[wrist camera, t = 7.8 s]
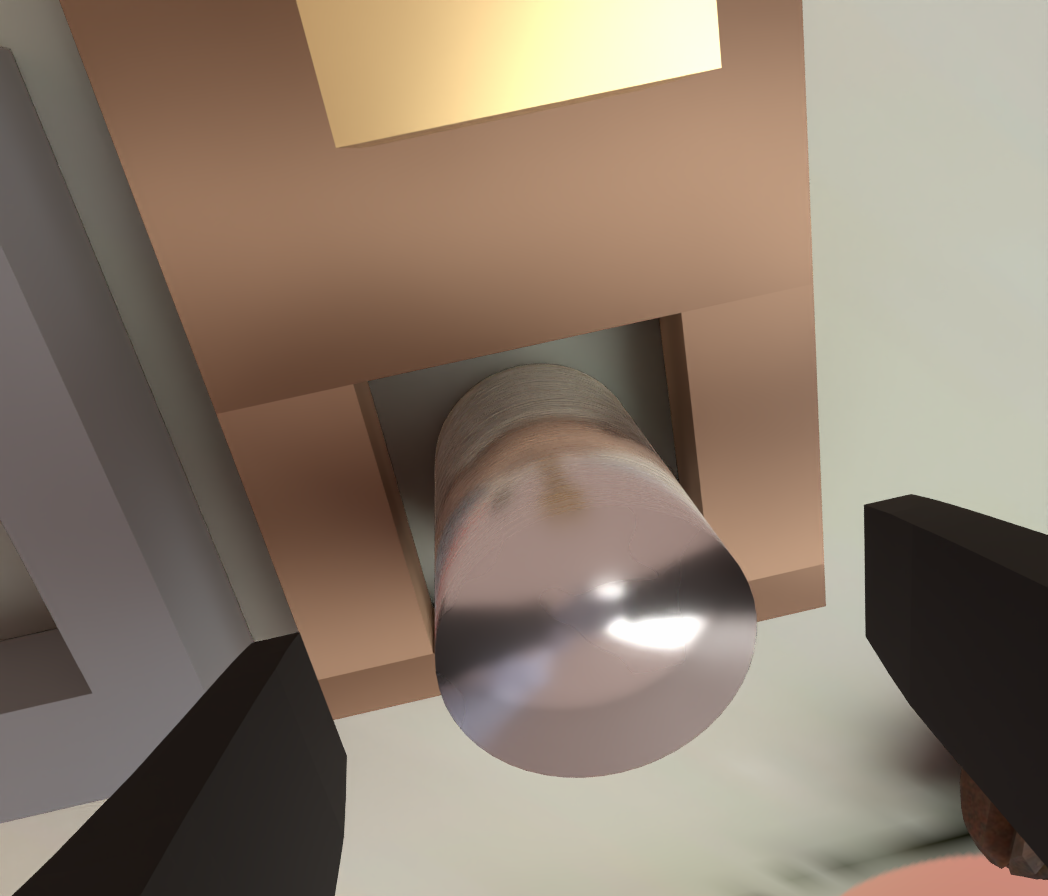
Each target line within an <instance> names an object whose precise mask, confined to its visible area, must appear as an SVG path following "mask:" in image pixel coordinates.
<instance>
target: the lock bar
mask: <svg viewBox="0 0 1048 896" xmlns="http://www.w3.org/2000/svg"><path fill="white" fill-rule="evenodd" d="M296 2H297V6H298V9H299V13H300V17H301V20H302V24H303V28H304V32H305V35H306V39H307V43H308V46H309V50H310V54H311V57H312V61H313V65H314V68H315V72H316V76H317V80H318V83H319V87H320V91H321V94H322V98H323V102H324V105H325V109H326V113H327V116H328V120H329V124H330V128H331V131H332V135H333V139H334V142H335V146H336V148H367V147H372V146H376V145H381V144H386V143H391V142H396V141H400V140H405V139H410V138H415V137H420V136H424V135H429V134H434V133H439V132H443V131H448V130H453V129H458V128H463V127H467V126H472V125H477V124H482V123H487V122H491V121H496V120H501V119H506V118H511V117H515V116H520V115H525V114H530V113H534V112H539V111H544V110H549V109H554V108H558V107H563V106H568V105H573V104H578V103H582V102H587V101H592V100H597V99H602V98H606V97H611V96H616V95H621V94H625V93H630V92H635V91H640V90H643V89H647V88H650V87H654V86H658V85H661V84H665V83H668V82H672V81H676V80H679V79H683V78H686V77H690V76H694V75H697V74H701V73H704V72H708V71H712V70H715V69H719V68H722V67H721V55H720V42H719V29H718V16H717V3H716V0H296Z"/></svg>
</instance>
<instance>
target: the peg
mask: <svg viewBox="0 0 1048 896" xmlns="http://www.w3.org/2000/svg"><path fill="white" fill-rule="evenodd" d="M756 636H757V615H756V609H755V603H754V598H753V595H752V592H751V589H750V586H749V583H748V581H747V579H746V577H745V575H744V573H743V572H742V570H741V568H740V566H739V565H738V563H737V562H736V561H735V559H734V558H733V557H732V555H731V554H730V552H729V551H728V550H727V548H726V547H725V546H724V544H723V543H722V541H721V540H720V539H719V537H718V536H717V535H716V533H715V532H714V530H713V529H712V528H711V526H710V525H709V524H708V522H707V521H706V519H705V518H704V517H703V515H702V514H701V513H700V511H699V510H698V508H697V507H696V506H695V504H694V503H693V502H692V500H691V499H690V498H689V496H688V495H687V493H686V492H685V491H684V489H683V488H682V487H681V485H680V484H679V482H678V481H677V480H676V478H675V477H674V476H673V474H672V473H671V471H670V470H669V469H668V467H667V466H666V465H665V463H664V462H663V460H662V459H661V458H660V456H659V455H658V454H657V452H656V451H655V449H654V448H653V447H652V445H651V444H650V443H649V441H648V440H647V438H646V437H645V436H644V434H643V433H642V432H641V430H640V429H639V427H638V426H637V425H636V423H635V422H634V421H633V419H632V418H631V416H630V415H629V414H628V412H627V411H626V410H625V408H624V407H623V405H622V404H621V403H620V401H619V400H618V399H617V398H616V396H615V395H614V394H613V393H612V392H611V391H610V390H609V389H608V388H607V387H606V386H604V385H603V384H602V383H600V382H599V381H598V380H596V379H595V378H593V377H591V376H589V375H587V374H585V373H583V372H581V371H578V370H575V369H573V368H569V367H565V366H561V365H554V364H528V365H521V366H516V367H513V368H509V369H506V370H503V371H500V372H498V373H496V374H493V375H491V376H489V377H488V378H486V379H484V380H483V381H481V382H479V383H478V384H477V385H475V386H474V387H473V388H471V389H470V390H469V391H468V392H467V393H466V394H465V395H464V396H463V397H462V398H461V399H460V400H459V401H458V402H457V403H456V405H455V406H454V407H453V409H452V410H451V411H450V413H449V415H448V416H447V418H446V420H445V422H444V424H443V426H442V429H441V431H440V434H439V437H438V441H437V445H436V452H435V668H436V676H437V681H438V686H439V690H440V693H441V695H442V698H443V700H444V703H445V705H446V707H447V709H448V711H449V712H450V714H451V716H452V718H453V719H454V721H455V722H456V723H457V725H458V726H459V727H460V728H461V729H462V731H463V732H464V733H465V734H466V735H467V736H468V737H469V738H470V739H471V740H472V741H473V742H474V743H476V744H477V745H478V746H479V747H480V748H482V749H483V750H485V751H486V752H488V753H489V754H491V755H492V756H494V757H496V758H498V759H500V760H502V761H504V762H506V763H507V764H510V765H512V766H515V767H518V768H521V769H523V770H526V771H530V772H534V773H538V774H543V775H549V776H557V777H575V778H585V777H596V776H605V775H610V774H616V773H621V772H625V771H628V770H632V769H635V768H639V767H642V766H644V765H647V764H649V763H652V762H654V761H657V760H659V759H661V758H663V757H665V756H667V755H669V754H671V753H673V752H675V751H676V750H678V749H680V748H681V747H683V746H684V745H686V744H687V743H689V742H690V741H692V740H693V739H694V738H696V737H697V736H698V735H699V734H701V733H702V732H703V731H704V730H706V729H707V728H708V727H709V726H710V725H711V724H712V723H713V722H714V721H715V720H716V719H717V718H718V717H719V716H720V715H721V714H722V712H723V711H724V710H725V709H726V707H727V706H728V705H729V703H730V702H731V701H732V700H733V698H734V696H735V695H736V693H737V691H738V690H739V688H740V687H741V685H742V683H743V681H744V678H745V676H746V674H747V672H748V670H749V667H750V664H751V660H752V657H753V654H754V649H755V643H756Z"/></svg>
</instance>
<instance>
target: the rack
mask: <svg viewBox="0 0 1048 896" xmlns="http://www.w3.org/2000/svg"><path fill="white" fill-rule="evenodd" d="M0 521H1V522H2V524H3V526H4V528H5V530H6V532H7V534H8V536H9V537H10V539H11V541H12V543H13V545H14V547H15V549H16V551H17V552H18V554H19V556H20V558H21V560H22V562H23V564H24V566H25V567H26V569H27V571H28V573H29V575H30V577H31V579H32V581H33V582H34V584H35V586H36V588H37V590H38V592H39V594H40V596H41V597H42V599H43V601H44V603H45V605H46V607H47V609H48V611H49V612H50V614H51V616H52V618H53V620H54V622H55V624H56V626H57V627H58V629H53V630H49V631H45V632H40V633H36V634H31V635H27V636H22V637H18V638H13V639H9V640H5V641H0V823H4V822H9V821H13V820H17V819H21V818H26V817H30V816H34V815H39V814H43V813H47V812H52V811H56V810H60V809H64V808H69V807H73V806H77V805H82V804H86V803H90V802H95V801H99V800H103V799H107V798H110V797H111V796H112V795H113V793H114V792H115V791H116V790H117V789H118V788H119V787H120V786H121V785H122V784H123V783H124V782H125V781H126V780H127V779H128V778H129V777H130V776H131V775H132V774H133V773H134V772H135V770H136V769H137V768H138V767H139V766H140V765H141V764H142V763H143V762H144V761H145V759H146V758H147V757H148V756H149V755H150V754H151V753H152V752H153V750H154V749H155V748H156V747H157V746H158V745H159V744H160V743H161V742H162V740H163V739H164V738H165V737H166V736H167V735H168V734H169V733H170V732H171V730H172V729H173V728H174V727H175V726H176V725H177V724H178V723H179V722H180V720H181V719H182V718H183V717H184V716H185V715H186V714H187V713H188V711H189V710H190V709H191V708H192V707H193V706H194V705H195V704H196V702H197V701H198V700H199V699H200V698H201V697H202V696H203V694H204V693H205V692H206V691H207V690H208V689H209V688H210V687H211V685H212V684H213V683H214V682H215V681H216V680H217V679H218V678H219V676H220V675H221V674H222V673H223V672H224V671H225V670H226V669H227V668H228V667H229V665H230V664H231V663H232V662H233V661H234V660H235V659H236V658H237V657H238V656H239V655H240V654H241V653H242V652H243V651H244V650H245V649H246V648H247V647H248V646H249V645H250V644H251V643H254V641H253V638H252V636H251V634H250V631H249V629H248V626H247V624H246V621H245V619H244V617H243V614H242V612H241V609H240V607H239V604H238V602H237V600H236V597H235V595H234V592H233V590H232V587H231V585H230V583H229V580H228V578H227V575H226V573H225V570H224V568H223V565H222V563H221V561H220V558H219V556H218V553H217V551H216V548H215V546H214V544H213V541H212V539H211V536H210V534H209V531H208V529H207V527H206V524H205V522H204V519H203V517H202V514H201V512H200V510H199V507H198V505H197V502H196V500H195V497H194V495H193V492H192V490H191V488H190V485H189V483H188V480H187V478H186V475H185V473H184V471H183V468H182V466H181V463H180V461H179V458H178V456H177V454H176V451H175V449H174V446H173V444H172V441H171V439H170V437H169V434H168V432H167V429H166V427H165V424H164V422H163V420H162V417H161V415H160V412H159V410H158V407H157V405H156V402H155V400H154V398H153V395H152V393H151V390H150V388H149V385H148V383H147V381H146V378H145V376H144V373H143V371H142V368H141V366H140V364H139V361H138V359H137V356H136V354H135V351H134V349H133V347H132V344H131V342H130V339H129V337H128V334H127V332H126V330H125V327H124V325H123V322H122V320H121V317H120V315H119V312H118V310H117V308H116V305H115V303H114V300H113V298H112V295H111V293H110V291H109V288H108V286H107V283H106V281H105V278H104V276H103V274H102V271H101V269H100V266H99V264H98V261H97V259H96V257H95V254H94V252H93V249H92V247H91V244H90V242H89V240H88V237H87V235H86V232H85V230H84V227H83V225H82V222H81V220H80V218H79V215H78V213H77V210H76V208H75V205H74V203H73V201H72V198H71V196H70V193H69V191H68V188H67V186H66V184H65V181H64V179H63V176H62V174H61V171H60V169H59V167H58V164H57V162H56V159H55V157H54V154H53V152H52V150H51V147H50V145H49V142H48V140H47V137H46V135H45V132H44V130H43V128H42V125H41V123H40V120H39V118H38V115H37V113H36V111H35V108H34V106H33V103H32V101H31V98H30V96H29V94H28V91H27V89H26V86H25V84H24V81H23V79H22V77H21V74H20V72H19V69H18V67H17V64H16V62H15V59H14V57H13V55H12V52H11V50H10V49H8V48H3V47H0Z"/></svg>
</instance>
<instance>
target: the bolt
mask: <svg viewBox="0 0 1048 896" xmlns="http://www.w3.org/2000/svg"><path fill="white" fill-rule="evenodd" d="M960 793H961V808H962V814H963V819H964V822H965V825H966V828H967V830H968V832H969V833H970V835H971V838H972V839H973V841H974V842H975V844H976V846H977V847H978V849H979V850H980V851H981V852H982V853H983V854H984V856H985V857H986V858H987V859H988V860H989V861H990V862H991V863H992V864H994V865H996V866H998V867H999V868H1001V869H1002V868H1004V867H1007V868H1009V870H1010V873H1011V875H1017V876H1024V877H1028V878H1033V879H1043V880H1048V868H1047V866H1046V865H1045V864H1044V863H1043V862H1042V861H1041V859H1040V858H1039V857H1038V856H1037V855H1036V854H1035V852H1034V851H1033V850H1032V849H1031V848H1030V847H1029V845H1028V844H1027V843H1026V842H1025V841H1024V839H1023V838H1022V837H1021V836H1020V835H1019V834H1018V832H1017V831H1016V830H1015V829H1014V828H1013V827H1012V825H1011V824H1010V823H1009V822H1008V821H1007V820H1006V818H1005V817H1004V816H1003V815H1002V814H1001V812H1000V811H999V810H998V809H997V808H996V807H995V805H994V804H993V803H992V802H991V801H990V800H989V798H988V797H987V796H986V795H985V794H984V793H983V791H982V790H981V789H980V788H979V787H978V786H977V784H976V783H975V782H974V781H973V780H972V778H971V777H970V776H969V775H968V774H967V773H966V771H965V770H964V769H963V768H962V770H961V776H960Z"/></svg>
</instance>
